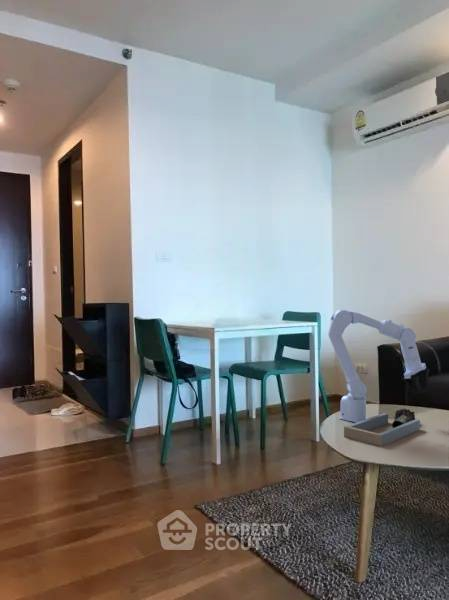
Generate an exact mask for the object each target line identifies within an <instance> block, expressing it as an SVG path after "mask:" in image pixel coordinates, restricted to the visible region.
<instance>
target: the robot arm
mask: <svg viewBox="0 0 449 600" xmlns="http://www.w3.org/2000/svg"><path fill="white" fill-rule="evenodd" d="M358 323H359V324H363V325H366V326H368V327H371V328H374V329H377V331H378V332H379V334H381V335H383V336H386V337H389V338H392V339H395V340H397V341H398V342H399V343H400V344H399V345H400V348H401V349H400V350H401V353H402V357H403V359H404V363H405V364H404V365H405V366H406V367H405V368H406V370H405V372H404V373H403V376H404V377H402V379H403V382H405V383H406V385H408V387H409V389H410V391H411V393H412V394H413V395H420V388H419V384H420V386H421V389H428V388H429V373H430V369H429V368H427V366H426V363H425V362H422V361H421V356H420V354H419V350H418V345H417V344H416V341H415V339H416V337H417V336H416V335H417V334H416V333H415V332H414V330H413V329H411V328H410V327H406V326H404V324H398V323H395V322H393V320H391V319H383V320H381V321H379V320H377V319H375V318H372V317H369V316H367V315H364V314H362V313H360V312H354V311H349V310H346V309H337V310H335V311H334V312H333V314H332V315H331V317H330V322H329V328H328V332H327V333H328V338H329V340H330V343H331V345H332V347H333V350H334V353H335V356H336V357H337V359H338V362H339V365H340V367H341V369H342V372H343V374H344V377H345V381H346V389H347V391H348V393H347V395H344V396H342V397H341V399H340V402H339V403H340V404H339V405H340V411H339V413H340V416H339V419H340V420H344V421H349V422H353V423H356V422H359V421H362V420H365V419H368V418H369V417H367V396H366V395H367V392H368V388H367V386H366V385H365V384H364V383H363V382H362V380H361V378H360V376H359V374H358V373H357V370H356V368H355V365H354V363H353V360H352V358H351V356H350V353H349V351H348V348H347V345H346V343H345V341H344V338H343V334H344V331H345V330H346V329H347V327H349V325H351V324H352V325H353V324H354V325H355V324H358ZM414 375H415V376H414Z"/></svg>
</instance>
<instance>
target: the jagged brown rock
mask: <svg viewBox="0 0 449 600" xmlns="http://www.w3.org/2000/svg"><path fill="white" fill-rule="evenodd" d="M394 414H395V415H394V421H393V422H392V424H391V427H392V428H395V427H397V426H400V425H402V424H405V423H408V422H410V421H413V420H415V419H416V416H415V411H411V410H410V409H407V408H400V409H397V410H396V411H395V413H394ZM392 428H391V429H392Z"/></svg>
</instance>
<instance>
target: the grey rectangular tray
mask: <svg viewBox="0 0 449 600" xmlns="http://www.w3.org/2000/svg"><path fill="white" fill-rule="evenodd" d="M367 418H368V419H365V420H362V421H359V422H353V423H350V424H348V425H345V426H344V427H343V437H344V438H347V439H352V440H355V441H359V442H363V443H367V444H370V445H375V446H378V447H382V446H385V445H387V444H389V443H392V442H394V441H397V440H399V439H401V438H403V437H406V436H408V435H410V434H412V433H415V432H417V431H420V430H421V420H420V419H416V418H415V420H413V421H410V422H408V423H405V424H402V425H400V426H397V427H395V428H390V429H388V430H385V431H382V432H379V433H378V432H374V431H370V430H372V429H375V428H378V427H380V426H383V425H386V424H388V423H389V413H387V412H383V413H380V414H378V415H375V416H372V417H367ZM369 429H370V430H369Z"/></svg>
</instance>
